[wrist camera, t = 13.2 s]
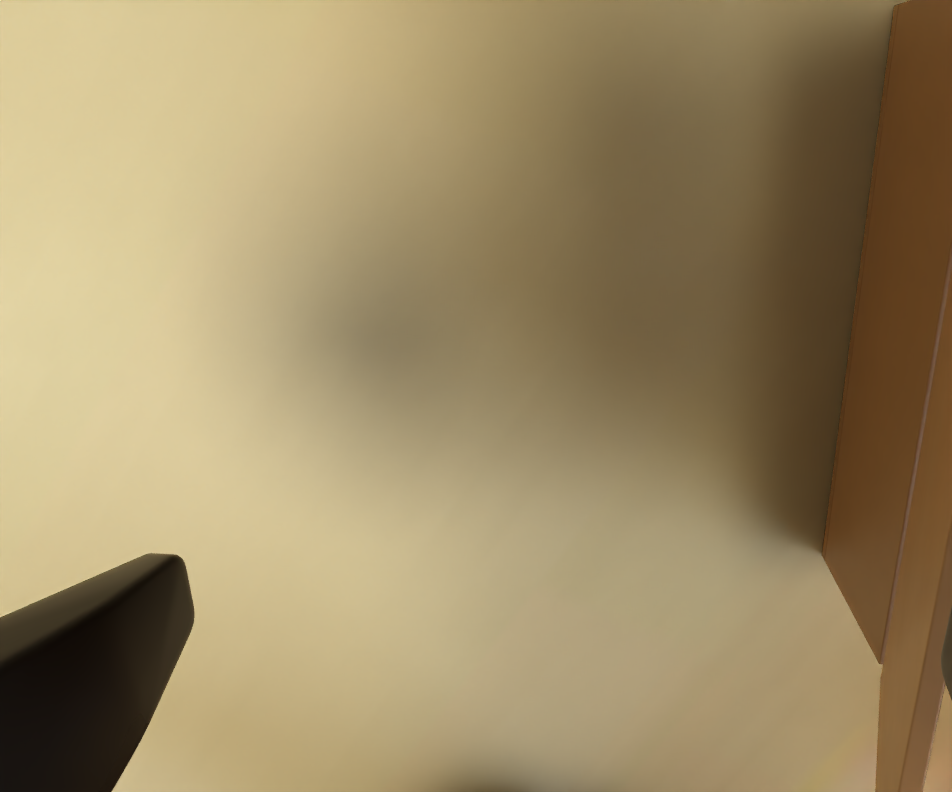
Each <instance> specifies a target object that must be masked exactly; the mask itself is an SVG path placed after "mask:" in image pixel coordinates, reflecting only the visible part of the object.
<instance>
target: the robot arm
mask: <svg viewBox="0 0 952 792" xmlns="http://www.w3.org/2000/svg"><path fill="white" fill-rule="evenodd" d="M193 623H194V606H193V600H192V595H191V590H190V585H189V580H188V575H187V570H186V566H185V563H184V561H183V559H182V558H181V557H179V556H178V555H173V554H153V553H151V554H146V555H143V556H141V557H139V558H136V559H134V560H132V561H129V562H127V563H125V564H122V565H120V566H118V567H116V568H113V569H111V570H109V571H106V572H104V573H102V574H99V575H97V576H95V577H93V578H90V579H88V580H86V581H83V582H81V583H79V584H76V585H74V586H72V587H70V588H67V589H65V590H63V591H60V592H58V593H56V594H53V595H51V596H49V597H47V598H44V599H42V600H40V601H37V602H35V603H33V604H30V605H28V606H26V607H24V608H21V609H19V610H17V611H14V612H12V613H10V614H7V615H5V616H3V617H1V618H0V792H112V790H113V788H114V787H115V785H116V783H117V781H118V780H119V778H120V776H121V774H122V773H123V771H124V769H125V768H126V766H127V764H128V762H129V761H130V759H131V757H132V755H133V754H134V752H135V750H136V748H137V746H138V744H139V743H140V741H141V739H142V737H143V735H144V733H145V731H146V729H147V727H148V725H149V723H150V721H151V719H152V716H153V714H154V712H155V710H156V708H157V705H158V703H159V701H160V699H161V697H162V694H163V692H164V690H165V688H166V685H167V683H168V681H169V679H170V677H171V674H172V672H173V670H174V668H175V666H176V663H177V661H178V659H179V657H180V655H181V652H182V650H183V648H184V646H185V644H186V641H187V639H188V637H189V635H190V633H191V630H192V627H193ZM941 669H942V674H943V678H944V681H945V683H946V686H947V689H948V691H949V694H950V697H951V699H952V607H951V611H950V616H949V620H948V625H947V629H946V634H945V639H944V643H943V648H942V653H941Z"/></svg>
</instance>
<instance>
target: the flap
mask: <svg viewBox="0 0 952 792" xmlns="http://www.w3.org/2000/svg"><path fill="white" fill-rule="evenodd" d="M951 607H952V270H951V276H950V281H949V287H948V293H947V299H946V304H945V310H944V316H943V322H942V328H941V333H940V339H939V345H938V351H937V356H936V362H935V368H934V374H933V379H932V385H931V391H930V397H929V402H928V408H927V414H926V420H925V426H924V431H923V437H922V443H921V449H920V454H919V460H918V466H917V472H916V477H915V483H914V489H913V495H912V500H911V506H910V512H909V518H908V524H907V529H906V535H905V541H904V547H903V552H902V558H901V564H900V570H899V575H898V581H897V587H896V593H895V598H894V604H893V610H892V616H891V622H890V627H889V633H888V639H887V645H886V650H885V656H884V662H883V668H882V673H881V680H880V701H879V723H878V745H877V766H876V788H875V792H923V788H924V783H925V778H926V773H927V769H928V764H929V759H930V754H931V750H932V745H933V740H934V735H935V731H936V726H937V721H938V716H939V712H940V707H941V702H942V697H943V693H944V688H945V681H944V678H943V674H942V669H941V653H942V648H943V643H944V639H945V634H946V629H947V625H948V620H949V616H950V611H951Z"/></svg>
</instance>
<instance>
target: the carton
mask: <svg viewBox="0 0 952 792" xmlns="http://www.w3.org/2000/svg"><path fill="white" fill-rule="evenodd" d="M951 270H952V0H910V1H907V2H904V3H901V4H898V5H895V6H894V11H893V19H892V27H891V34H890V42H889V49H888V57H887V65H886V72H885V80H884V87H883V95H882V103H881V110H880V118H879V125H878V133H877V141H876V148H875V156H874V163H873V171H872V178H871V186H870V194H869V201H868V209H867V216H866V224H865V232H864V239H863V247H862V254H861V262H860V270H859V277H858V285H857V292H856V300H855V308H854V315H853V323H852V330H851V338H850V346H849V353H848V361H847V368H846V376H845V383H844V391H843V399H842V406H841V414H840V421H839V429H838V437H837V444H836V452H835V459H834V467H833V475H832V482H831V490H830V497H829V505H828V513H827V520H826V528H825V535H824V543H823V551H822V556H823V558H824V560H825V562H826V564H827V566H828V568H829V570H830V572H831V573H832V575H833V577H834V579H835V581H836V583H837V585H838V587H839V589H840V590H841V592H842V594H843V596H844V598H845V600H846V602H847V604H848V606H849V608H850V609H851V611H852V613H853V615H854V617H855V619H856V621H857V623H858V625H859V626H860V628H861V630H862V632H863V634H864V636H865V638H866V640H867V642H868V644H869V645H870V647H871V649H872V651H873V653H874V655H875V657H876V659H877V661H878V662H879V664H883V662H884V656H885V650H886V645H887V639H888V633H889V627H890V622H891V616H892V610H893V604H894V598H895V593H896V587H897V581H898V575H899V570H900V564H901V558H902V552H903V547H904V541H905V535H906V529H907V524H908V518H909V512H910V506H911V500H912V495H913V489H914V483H915V477H916V472H917V466H918V460H919V454H920V449H921V443H922V437H923V431H924V426H925V420H926V414H927V408H928V402H929V397H930V391H931V385H932V379H933V374H934V368H935V362H936V356H937V351H938V345H939V339H940V333H941V328H942V322H943V316H944V310H945V304H946V299H947V293H948V287H949V281H950V276H951Z"/></svg>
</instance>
